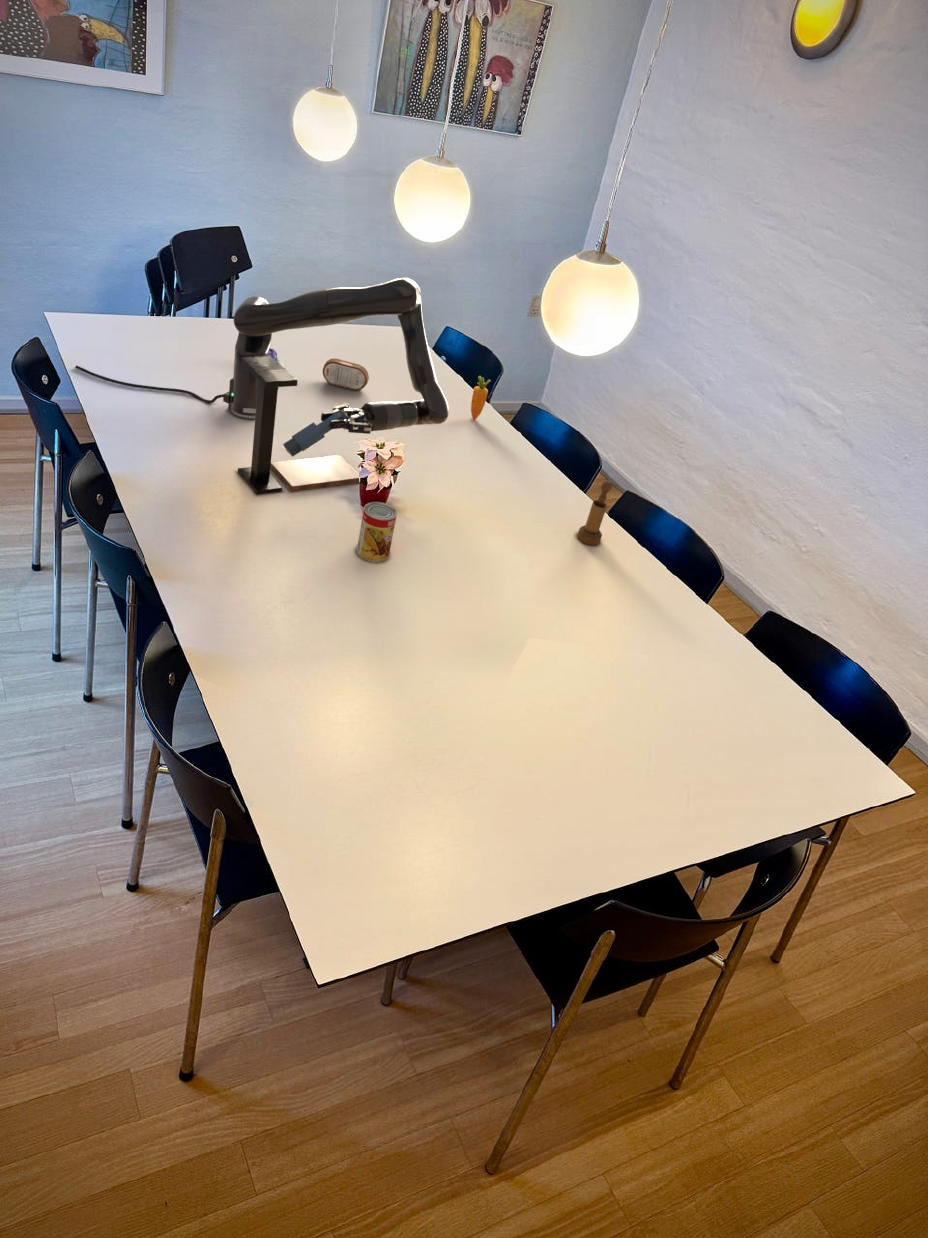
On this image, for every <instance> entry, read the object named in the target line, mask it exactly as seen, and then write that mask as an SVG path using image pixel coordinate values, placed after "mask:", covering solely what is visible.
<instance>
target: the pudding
mask: <svg viewBox="0 0 928 1238" xmlns="http://www.w3.org/2000/svg"><path fill="white" fill-rule="evenodd" d="M270 356H272V357H273V358H274V359H276V360H277V361H278V362H279V363H280V364H281V365H282V366H283V367H284V368H285V369H286V364H285V363H284V362H283V361H281V360H279V358H278V353H277V351H276V350H275V349H273V348H271V347H270V349H269V353H268V357H270Z"/></svg>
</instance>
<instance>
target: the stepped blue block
mask: <svg viewBox="0 0 928 1238" xmlns="http://www.w3.org/2000/svg"><path fill="white" fill-rule="evenodd" d="M341 419H342V420H343V421H344V419H349V417H348V416H347V415H346V414H345V413H344V412H343V411H341V410H338V411H337V412H336V413H335V414H333V415H332V416H330V417H329V418H327V419H326V420H324V421H322V420H321V421H320V422H319V423H317V424H316V422H313V421H312V423H310V424H309V425H307V426H305V427H304V428H302V429H301V430H299V431H298V432H296V433H295V434H292V436H291V438H290V439H289V440H287V441H286V442H284V443H283V444H282V445H283V447H284V449H285V451H286V452H287V454H288V455H290V456H291V457H295V456H296V455H298V454H299V453H301V452H304V451H306V450H307V449H309V448H310V447H312V446H313V445H315V444H317V443H318V442H320V441H321V440H323V439H324V438H325V435H326V434H327V433H328V432H330V431H332V430H333V429H330V428H329V422H330V421H331V420H341Z"/></svg>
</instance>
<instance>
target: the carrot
mask: <svg viewBox="0 0 928 1238" xmlns="http://www.w3.org/2000/svg"><path fill="white" fill-rule="evenodd" d="M477 378H478V379H477V380H478V382H477V383H476V384H477V385H476V386H475V387H474V388H473V390H472V391H473V392H472V396H471V402H470V413H471V418H472V420H473V421H475V420H477V419H478V418H479V417H480V415H481V413H482V411H483V409H484V407H485V404H486V402H487V397H488V393H489V390H488V389H487V388H486V387H487V385H488V384H489V383H490V382H491V379H488V380H486V381H485V378H484V377H482V376H481V375H479V376H478V377H477Z"/></svg>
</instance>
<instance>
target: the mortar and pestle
mask: <svg viewBox="0 0 928 1238" xmlns="http://www.w3.org/2000/svg"><path fill="white" fill-rule="evenodd" d="M612 489H613V483H612V482H611V481H610V480H603V481H602V482H601V484H600V490H601V493H600V494H598V495H597V500H593V501H592V503H591V507H590V510H589V513H588V515H587V519H586V523H585V525H582V526H580V527H579V529H578V531H577V533H576V538H577V539H578V541H580V543H583V544H585V545H588V546H597V545H599V544H600V542H601V539H602V537H603V533H602V531H601V530H600V528H601V525H602V522H603V519H604V516H605V514H606V511H607V508H608V504H607V503H605V502H606V500H607V498H608V497H607V496H608V495H607V494H609V492H610V491H611V490H612Z"/></svg>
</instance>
